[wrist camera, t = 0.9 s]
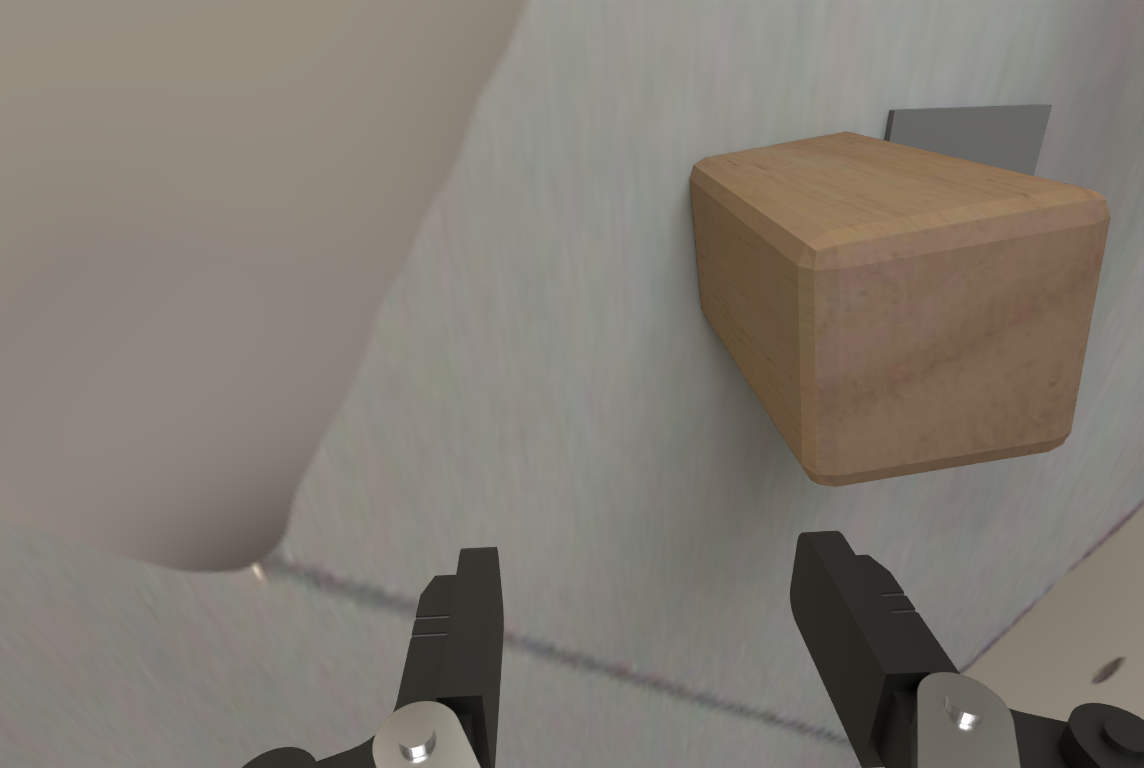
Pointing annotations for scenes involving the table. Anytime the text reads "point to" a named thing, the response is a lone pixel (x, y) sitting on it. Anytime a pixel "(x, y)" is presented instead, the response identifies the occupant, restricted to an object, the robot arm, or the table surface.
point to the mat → (975, 133)
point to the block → (898, 300)
